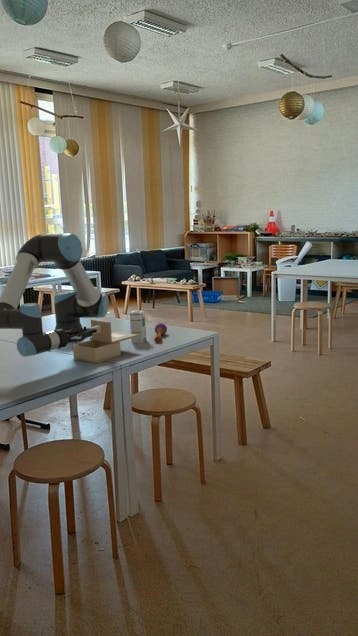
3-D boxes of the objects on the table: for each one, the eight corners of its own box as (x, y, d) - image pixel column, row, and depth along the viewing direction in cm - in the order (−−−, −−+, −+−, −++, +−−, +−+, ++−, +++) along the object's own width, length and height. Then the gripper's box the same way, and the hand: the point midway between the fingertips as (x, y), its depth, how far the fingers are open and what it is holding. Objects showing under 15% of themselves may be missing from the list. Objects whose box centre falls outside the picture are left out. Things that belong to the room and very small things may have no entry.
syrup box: (143, 343, 264) (141, 312, 261) (131, 343, 265) (129, 312, 263) (146, 340, 270) (144, 310, 267) (134, 340, 271) (132, 310, 268)
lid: (89, 339, 248) (88, 319, 246) (114, 333, 258) (113, 314, 257) (112, 343, 238) (111, 322, 236) (137, 336, 249) (136, 316, 247)
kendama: (150, 335, 262) (154, 323, 282) (153, 347, 264) (156, 334, 283) (162, 332, 262) (165, 320, 281) (165, 344, 263) (168, 332, 283)
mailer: (73, 358, 241) (72, 344, 240) (98, 351, 252) (97, 338, 251) (95, 363, 232) (94, 349, 231) (120, 355, 243) (119, 342, 241)
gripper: (45, 347, 229) (90, 335, 247) (65, 351, 221) (111, 339, 238) (43, 328, 228) (89, 318, 245) (64, 332, 219) (110, 321, 237)
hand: (100, 328), depth 242 cm, fingers closed
